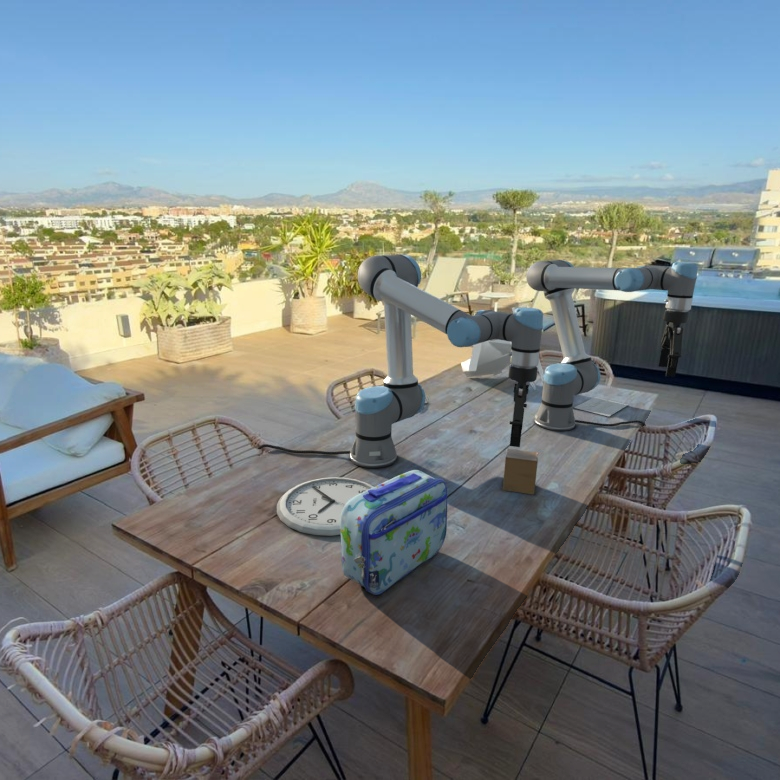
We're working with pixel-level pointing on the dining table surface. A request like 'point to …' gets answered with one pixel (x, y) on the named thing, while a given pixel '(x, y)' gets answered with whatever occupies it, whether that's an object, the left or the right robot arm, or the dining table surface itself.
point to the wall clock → (318, 504)
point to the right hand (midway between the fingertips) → (666, 371)
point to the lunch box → (393, 529)
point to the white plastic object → (491, 359)
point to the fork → (426, 400)
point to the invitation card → (601, 406)
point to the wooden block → (520, 471)
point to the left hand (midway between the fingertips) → (516, 437)
